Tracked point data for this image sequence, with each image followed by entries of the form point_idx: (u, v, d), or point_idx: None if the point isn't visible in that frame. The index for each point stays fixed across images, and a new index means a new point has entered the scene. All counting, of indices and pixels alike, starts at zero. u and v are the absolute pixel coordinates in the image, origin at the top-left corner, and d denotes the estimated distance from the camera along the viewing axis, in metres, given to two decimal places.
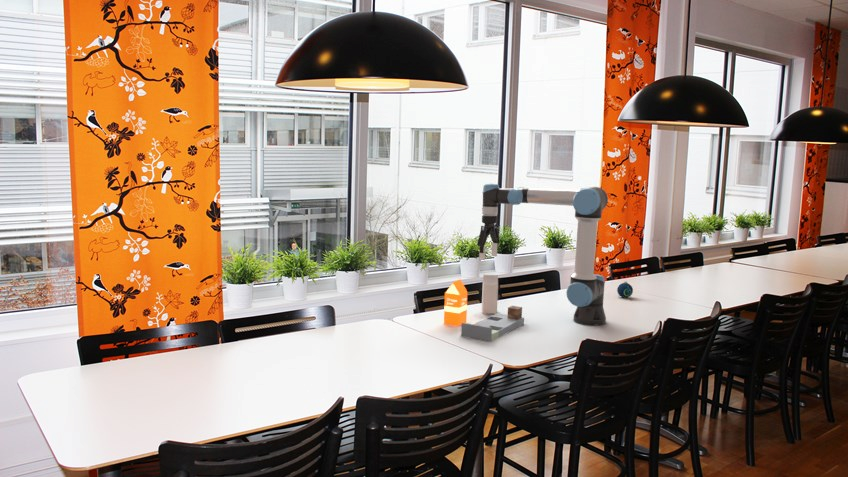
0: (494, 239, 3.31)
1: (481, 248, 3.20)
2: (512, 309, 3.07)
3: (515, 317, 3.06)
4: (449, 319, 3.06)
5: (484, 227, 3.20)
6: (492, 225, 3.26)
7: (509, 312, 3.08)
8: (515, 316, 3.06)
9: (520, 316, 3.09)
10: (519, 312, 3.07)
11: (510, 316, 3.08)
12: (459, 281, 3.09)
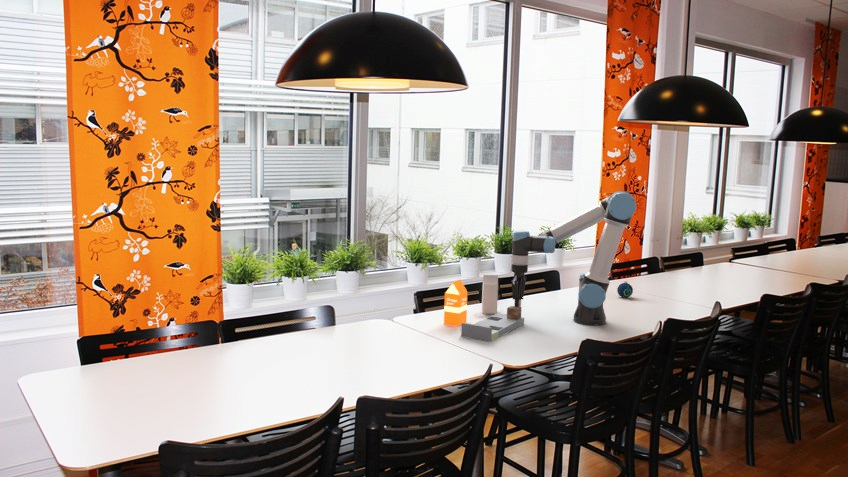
0: None
1: (516, 302, 3.10)
2: (511, 309, 3.06)
3: (514, 317, 3.06)
4: (449, 319, 3.06)
5: (514, 282, 3.05)
6: None
7: (508, 312, 3.07)
8: (514, 316, 3.06)
9: (519, 316, 3.08)
10: (518, 313, 3.07)
11: (509, 316, 3.07)
12: (459, 281, 3.09)
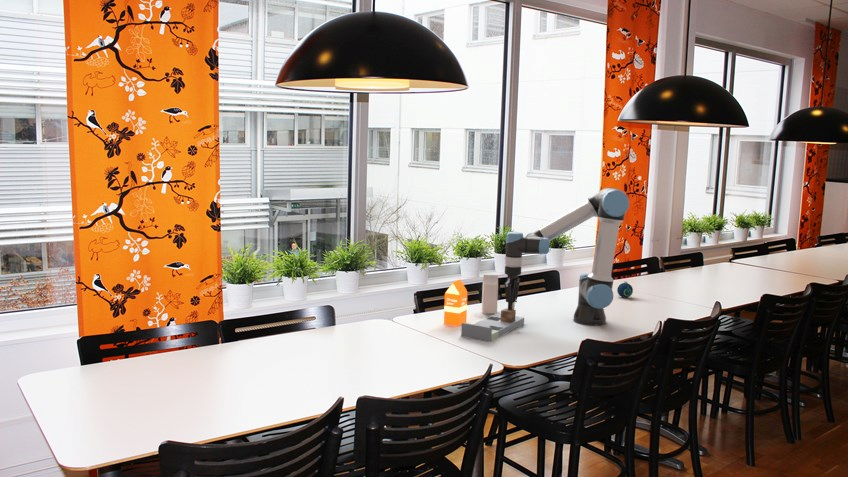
0: None
1: (510, 304, 3.04)
2: (505, 312, 3.01)
3: (508, 320, 3.01)
4: (449, 319, 3.06)
5: (508, 285, 2.98)
6: None
7: (502, 315, 3.02)
8: (508, 319, 3.01)
9: (513, 319, 3.03)
10: (512, 315, 3.01)
11: (503, 319, 3.02)
12: (459, 281, 3.09)
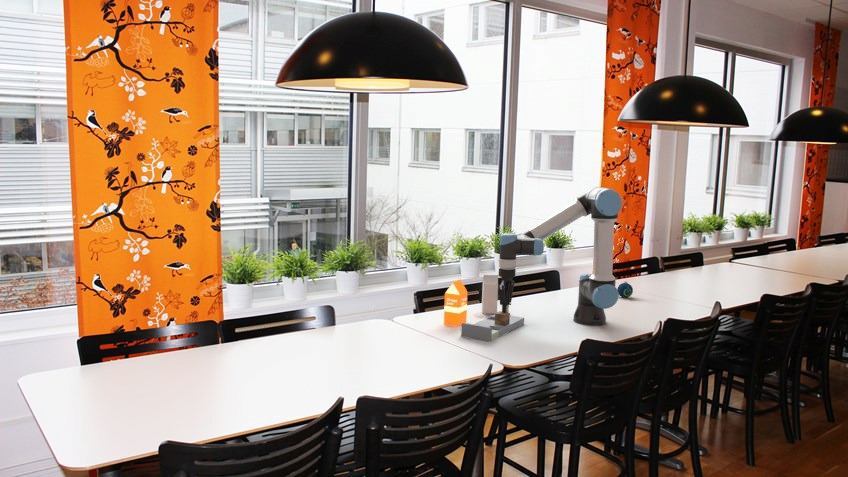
0: None
1: (504, 307, 2.98)
2: (499, 315, 2.95)
3: (502, 323, 2.95)
4: (449, 319, 3.06)
5: (502, 287, 2.93)
6: None
7: (496, 318, 2.96)
8: (502, 322, 2.95)
9: (508, 322, 2.97)
10: (506, 318, 2.96)
11: (497, 322, 2.96)
12: (459, 281, 3.09)
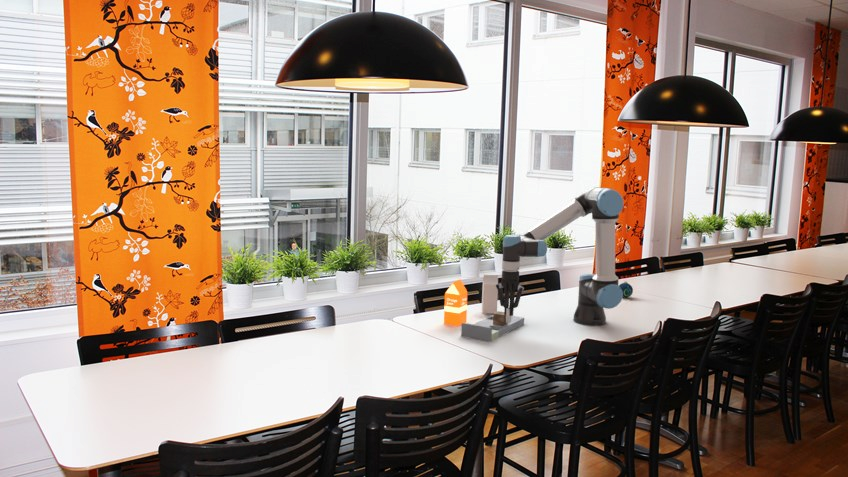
0: None
1: None
2: (498, 315, 2.95)
3: (501, 323, 2.95)
4: (449, 319, 3.06)
5: None
6: (513, 280, 2.90)
7: (494, 318, 2.96)
8: (500, 322, 2.95)
9: None
10: (505, 318, 2.96)
11: (495, 322, 2.96)
12: (459, 281, 3.09)
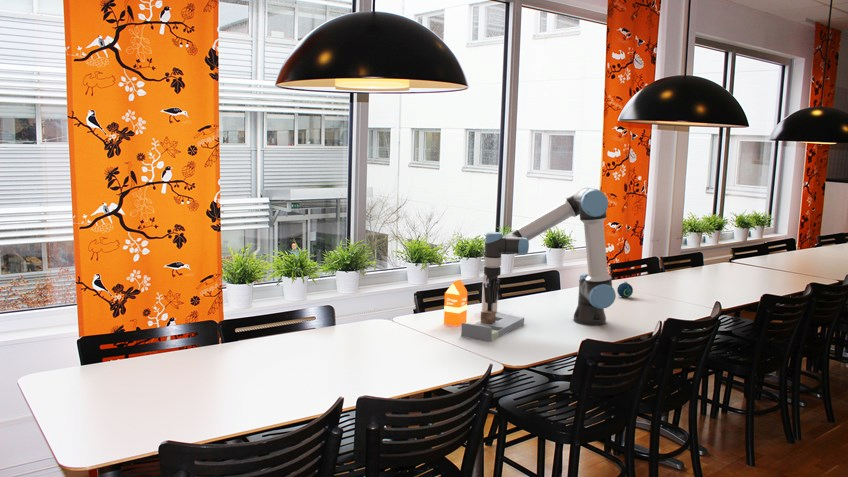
0: None
1: (489, 305, 3.01)
2: (485, 313, 2.98)
3: (488, 321, 2.97)
4: (449, 319, 3.06)
5: (487, 285, 2.96)
6: None
7: (482, 316, 2.99)
8: (488, 320, 2.97)
9: (494, 320, 3.00)
10: (492, 317, 2.98)
11: (483, 320, 2.99)
12: (459, 281, 3.09)
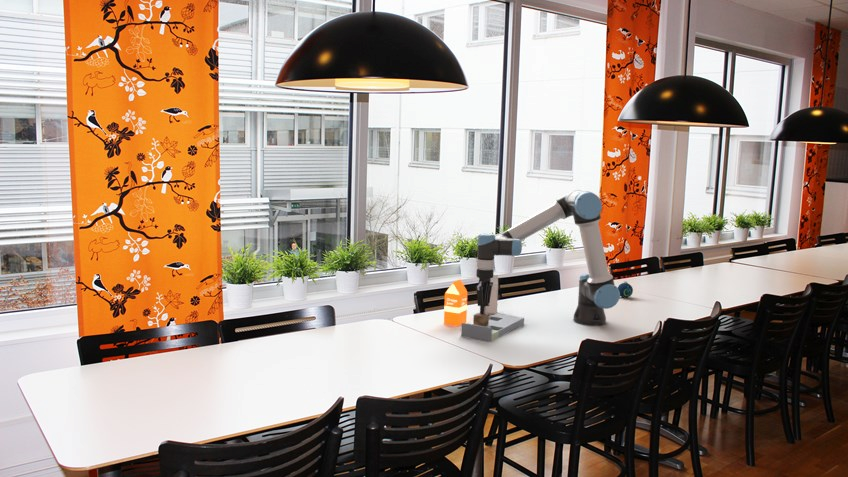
0: None
1: (482, 308, 2.95)
2: (478, 316, 2.92)
3: (481, 325, 2.91)
4: (449, 319, 3.06)
5: (479, 288, 2.89)
6: None
7: (475, 320, 2.93)
8: (481, 323, 2.91)
9: (487, 324, 2.94)
10: (485, 320, 2.92)
11: (475, 323, 2.93)
12: (459, 281, 3.09)
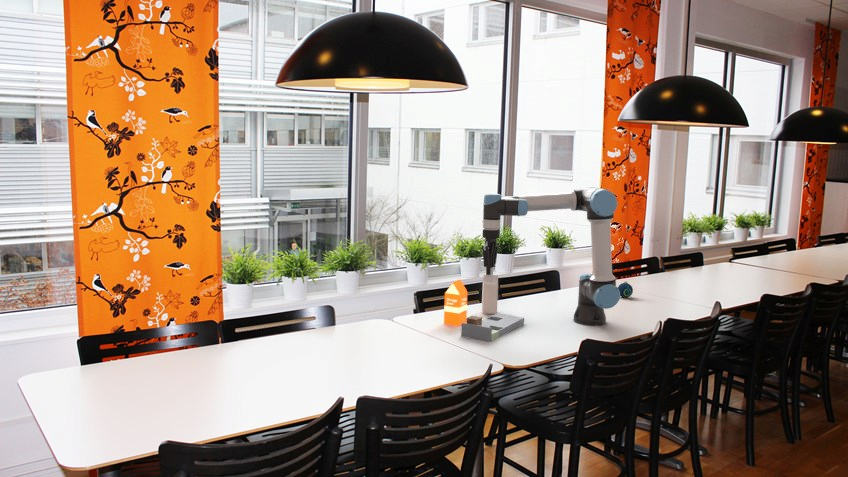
0: None
1: (488, 269, 2.92)
2: (471, 319, 2.86)
3: None
4: (449, 319, 3.06)
5: (485, 248, 2.87)
6: None
7: (468, 323, 2.87)
8: None
9: None
10: (478, 323, 2.87)
11: None
12: (459, 281, 3.09)
